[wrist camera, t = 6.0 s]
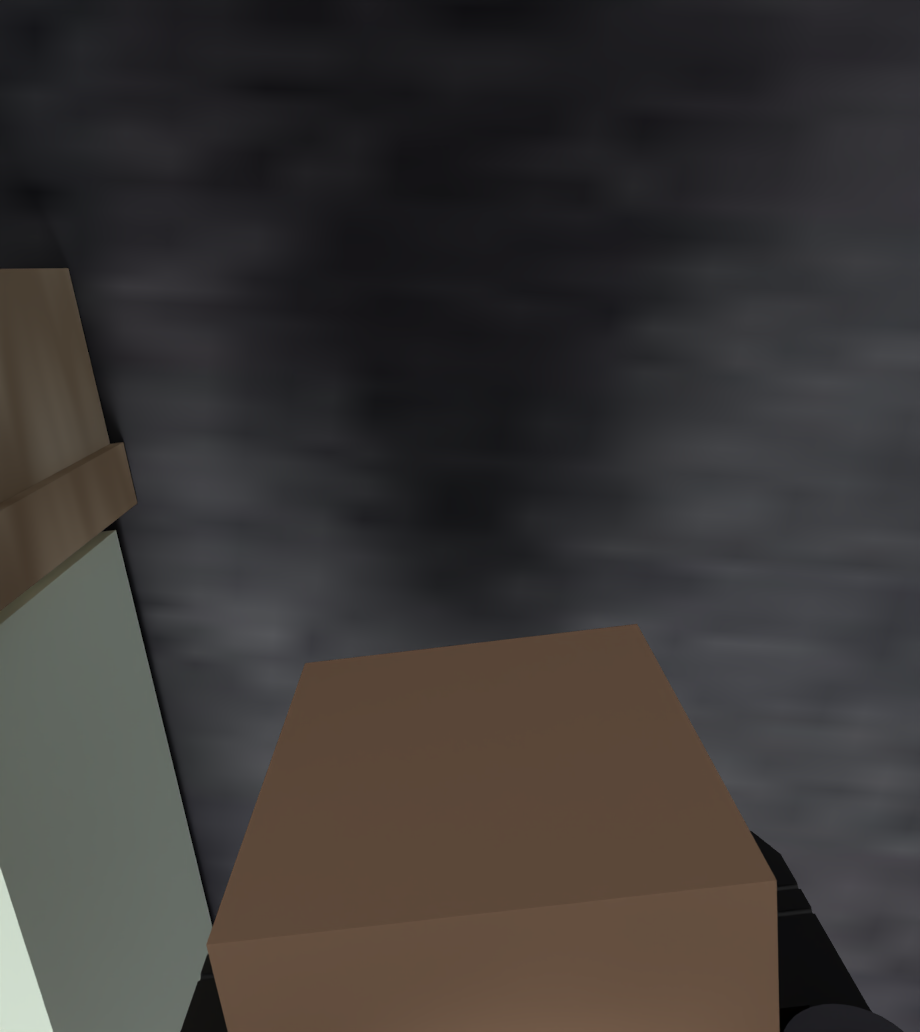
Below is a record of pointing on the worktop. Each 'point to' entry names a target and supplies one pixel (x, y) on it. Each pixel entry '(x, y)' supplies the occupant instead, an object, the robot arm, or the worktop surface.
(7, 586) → the door frame
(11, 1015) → the door
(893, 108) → the worktop surface
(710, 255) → the worktop surface
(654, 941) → the rectangular block
